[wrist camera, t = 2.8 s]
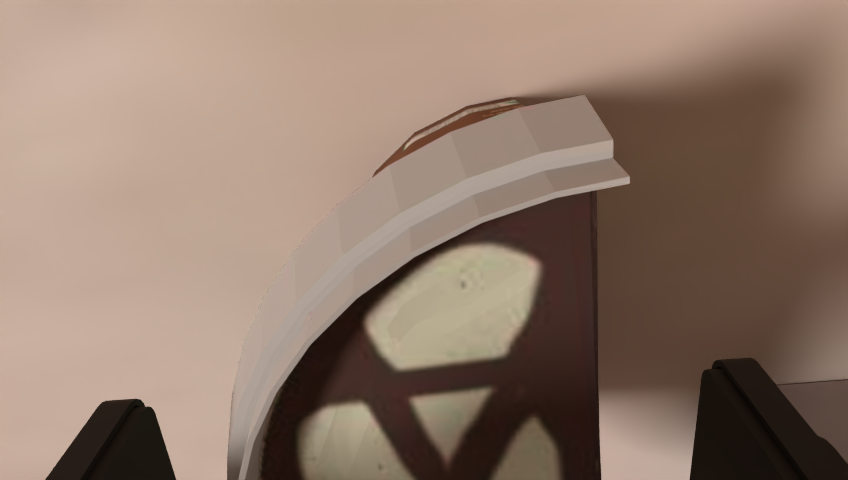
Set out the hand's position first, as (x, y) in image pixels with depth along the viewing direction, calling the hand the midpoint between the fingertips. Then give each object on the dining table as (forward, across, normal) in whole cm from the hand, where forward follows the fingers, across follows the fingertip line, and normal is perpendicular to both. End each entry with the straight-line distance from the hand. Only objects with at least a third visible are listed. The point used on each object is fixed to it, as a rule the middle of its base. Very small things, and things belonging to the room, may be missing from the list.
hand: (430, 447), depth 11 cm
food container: (+8, 0, +1) cm, 8 cm away
